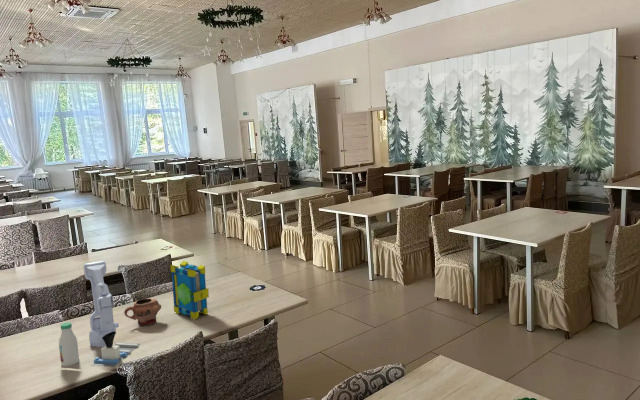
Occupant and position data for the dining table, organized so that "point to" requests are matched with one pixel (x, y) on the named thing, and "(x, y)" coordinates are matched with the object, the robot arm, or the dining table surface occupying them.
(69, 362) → the milk bottle
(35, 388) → the dining table surface
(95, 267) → the robot arm
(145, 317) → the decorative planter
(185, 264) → the decorative book
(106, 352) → the tall cream block
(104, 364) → the board
